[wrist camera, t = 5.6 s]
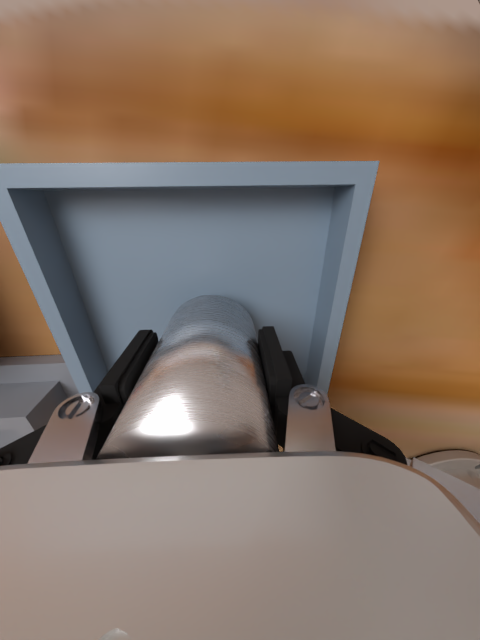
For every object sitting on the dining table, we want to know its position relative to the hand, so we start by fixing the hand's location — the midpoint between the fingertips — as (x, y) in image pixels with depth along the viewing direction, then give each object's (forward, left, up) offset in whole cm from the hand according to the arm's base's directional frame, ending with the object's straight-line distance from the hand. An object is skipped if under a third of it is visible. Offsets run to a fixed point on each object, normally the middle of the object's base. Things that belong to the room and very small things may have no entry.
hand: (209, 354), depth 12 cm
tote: (0, 0, -4) cm, 4 cm away
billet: (0, 0, -2) cm, 2 cm away
